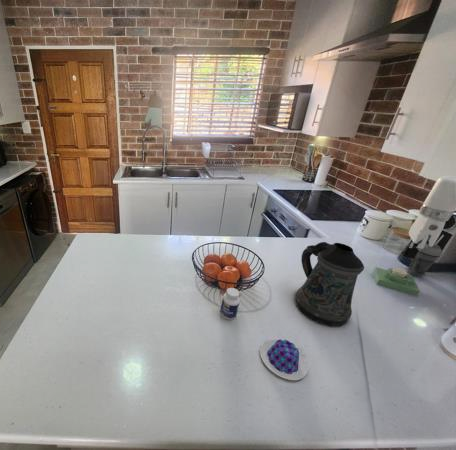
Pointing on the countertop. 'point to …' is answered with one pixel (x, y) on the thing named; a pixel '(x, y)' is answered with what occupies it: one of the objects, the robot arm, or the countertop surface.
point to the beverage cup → (424, 259)
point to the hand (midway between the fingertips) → (407, 256)
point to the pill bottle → (230, 304)
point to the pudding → (283, 359)
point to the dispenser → (395, 281)
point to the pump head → (399, 272)
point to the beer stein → (328, 283)
